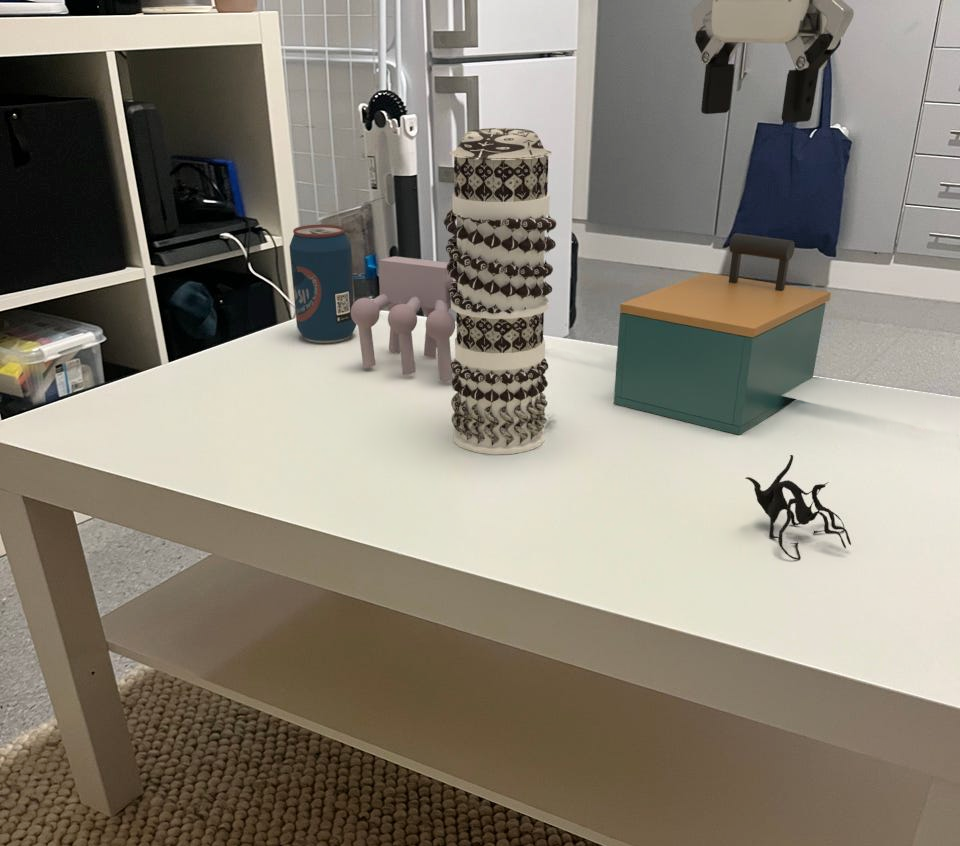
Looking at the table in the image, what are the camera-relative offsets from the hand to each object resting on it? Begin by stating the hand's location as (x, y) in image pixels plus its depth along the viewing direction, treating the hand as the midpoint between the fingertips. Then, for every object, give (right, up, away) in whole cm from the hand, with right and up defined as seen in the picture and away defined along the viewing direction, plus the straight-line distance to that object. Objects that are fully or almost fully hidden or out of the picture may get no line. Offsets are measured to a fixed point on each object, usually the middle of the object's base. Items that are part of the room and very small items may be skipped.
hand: (753, 117), depth 92 cm
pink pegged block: (-28, -19, +16) cm, 38 cm away
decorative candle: (-23, -29, 0) cm, 38 cm away
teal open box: (-2, -24, +9) cm, 25 cm away
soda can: (-43, -12, +27) cm, 52 cm away
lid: (-1, -16, +4) cm, 17 cm away
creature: (-1, -40, -18) cm, 44 cm away
